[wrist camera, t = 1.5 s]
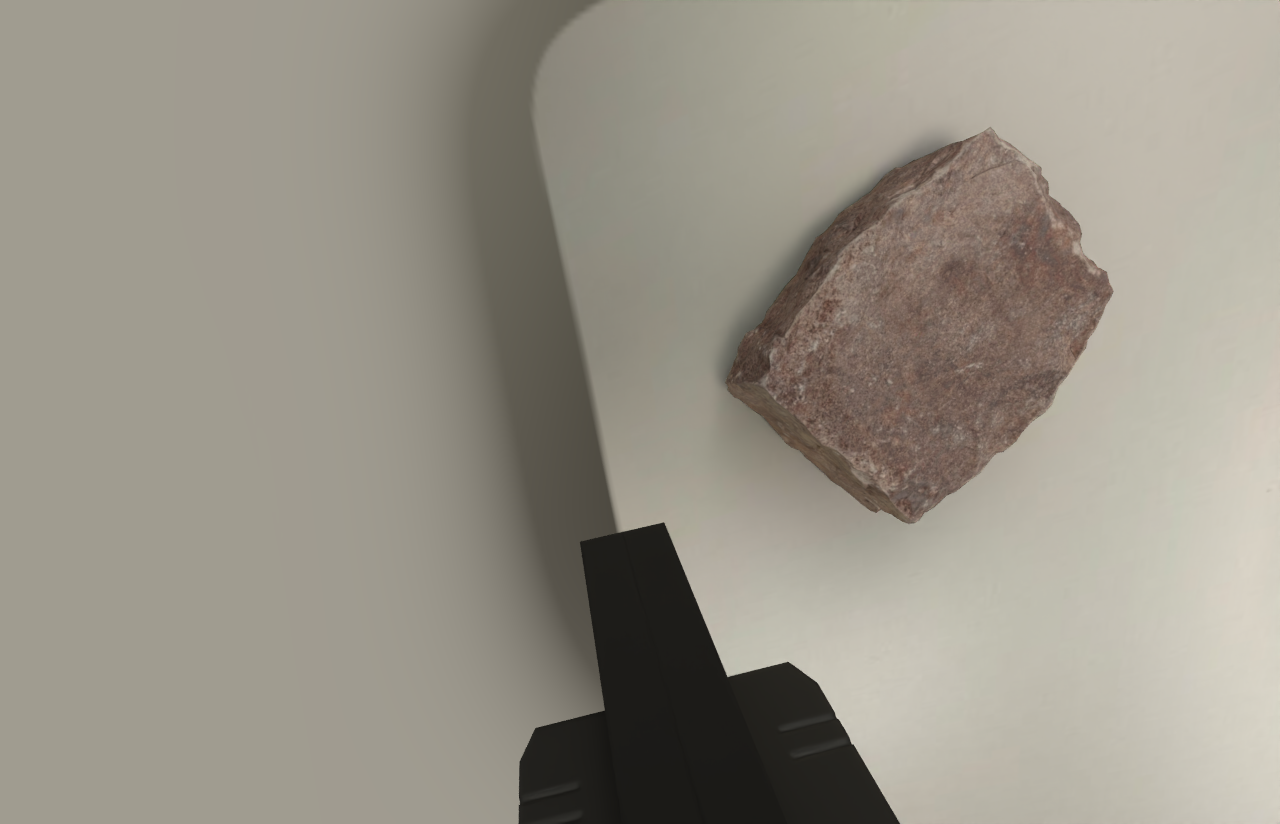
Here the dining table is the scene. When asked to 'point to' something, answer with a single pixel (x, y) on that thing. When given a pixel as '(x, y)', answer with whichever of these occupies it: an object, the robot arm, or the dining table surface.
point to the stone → (926, 327)
